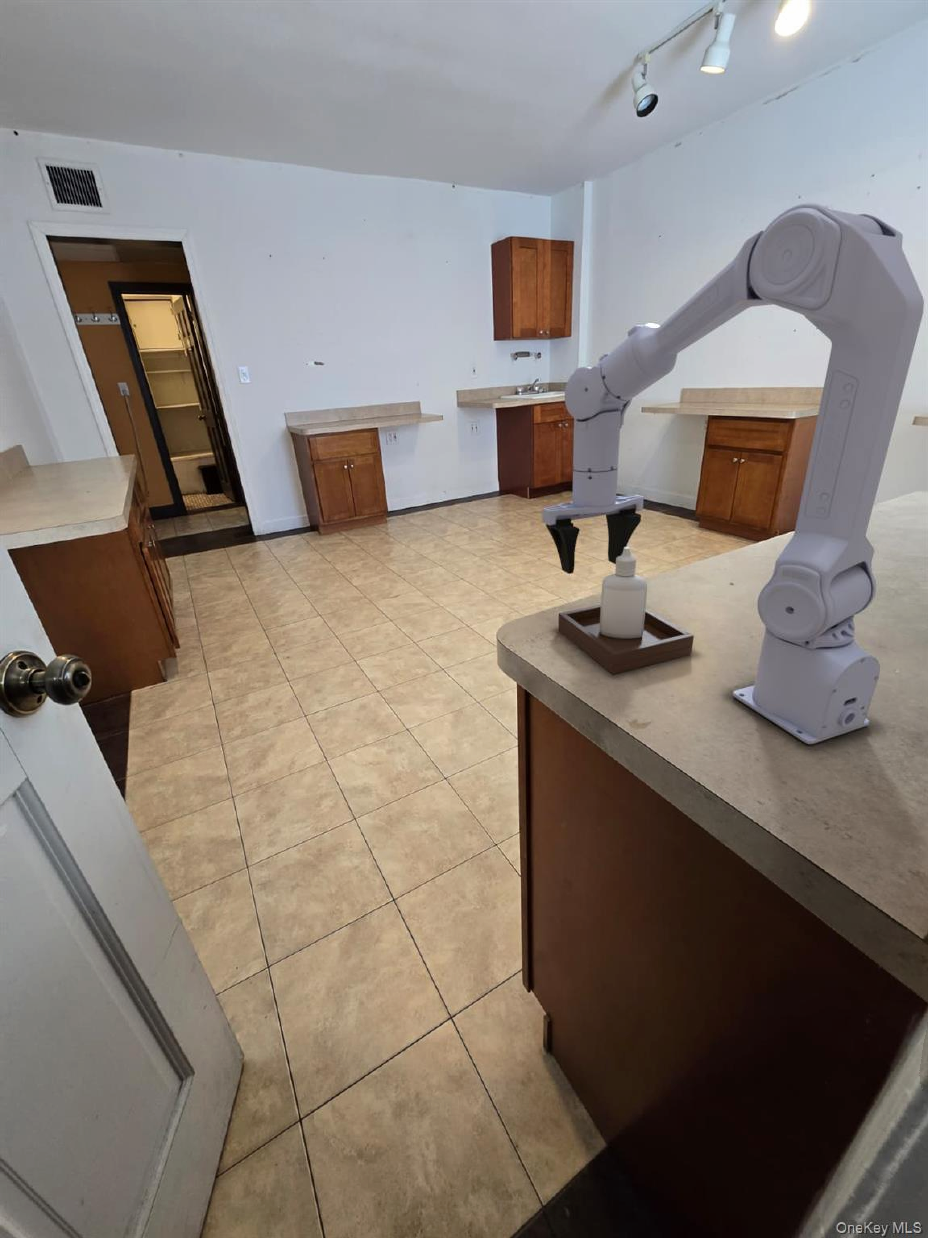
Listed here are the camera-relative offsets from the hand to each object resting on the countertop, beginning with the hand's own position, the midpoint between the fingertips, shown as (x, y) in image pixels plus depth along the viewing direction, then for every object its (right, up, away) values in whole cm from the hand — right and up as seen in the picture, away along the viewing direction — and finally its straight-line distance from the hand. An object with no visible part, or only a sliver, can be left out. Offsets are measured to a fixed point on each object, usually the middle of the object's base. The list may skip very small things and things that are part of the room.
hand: (591, 566), depth 73 cm
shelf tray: (+3, -10, -3) cm, 12 cm away
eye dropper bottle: (+3, -10, -4) cm, 11 cm away
